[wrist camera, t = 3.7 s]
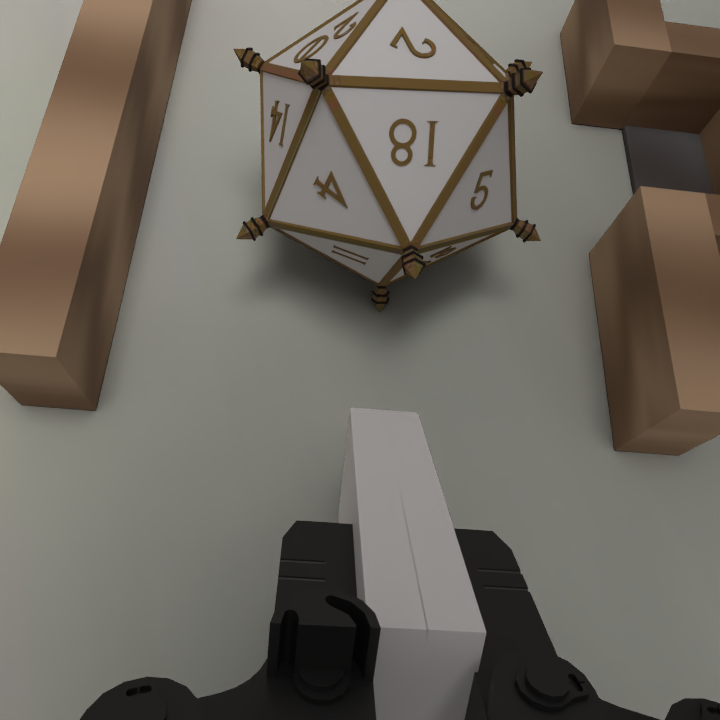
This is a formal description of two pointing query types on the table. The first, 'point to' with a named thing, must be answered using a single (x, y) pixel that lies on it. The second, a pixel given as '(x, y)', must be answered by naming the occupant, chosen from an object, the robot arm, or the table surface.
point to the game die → (388, 140)
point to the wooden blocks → (588, 107)
